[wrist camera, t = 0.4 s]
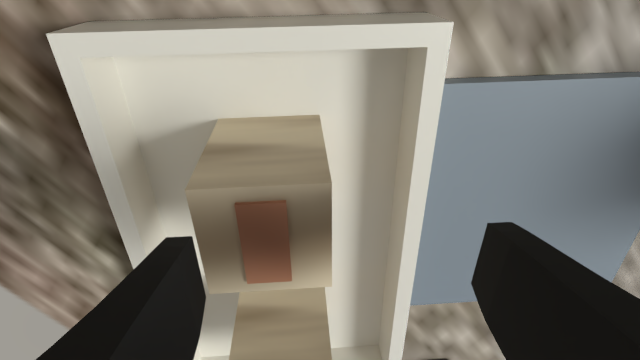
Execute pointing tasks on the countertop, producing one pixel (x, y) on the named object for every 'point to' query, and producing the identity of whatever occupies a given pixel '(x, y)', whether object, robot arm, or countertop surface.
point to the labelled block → (263, 205)
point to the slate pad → (531, 173)
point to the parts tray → (267, 101)
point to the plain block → (281, 325)
